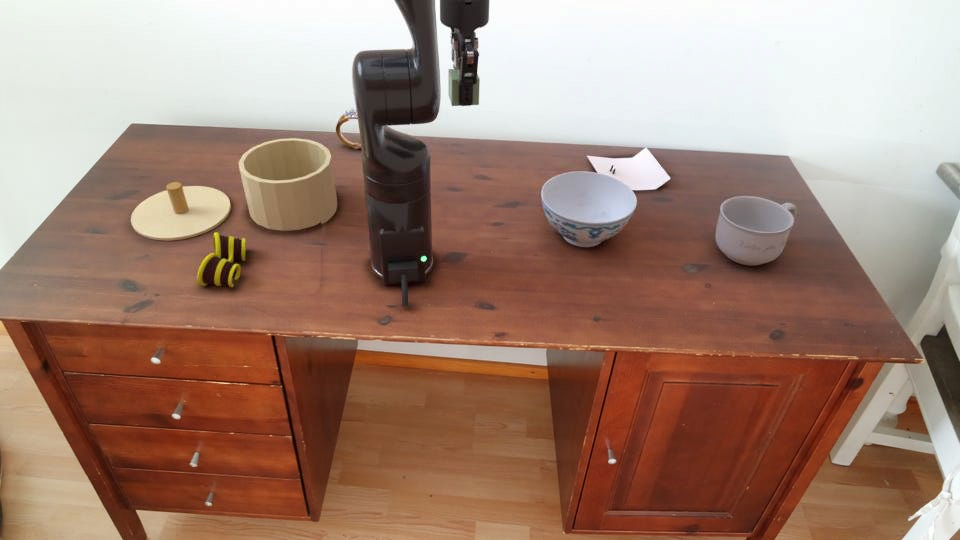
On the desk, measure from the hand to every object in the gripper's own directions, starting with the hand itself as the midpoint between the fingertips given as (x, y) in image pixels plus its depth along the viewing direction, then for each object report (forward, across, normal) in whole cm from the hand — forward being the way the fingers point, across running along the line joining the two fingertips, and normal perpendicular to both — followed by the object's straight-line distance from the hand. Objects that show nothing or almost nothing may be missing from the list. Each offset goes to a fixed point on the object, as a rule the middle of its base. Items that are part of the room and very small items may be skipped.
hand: (463, 97), depth 109 cm
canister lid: (+16, +4, -48) cm, 50 cm away
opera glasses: (+17, +20, -38) cm, 47 cm away
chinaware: (+17, +18, +18) cm, 30 cm away
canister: (+17, +4, -30) cm, 34 cm away
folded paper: (+17, 0, +31) cm, 36 cm away
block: (0, 0, 0) cm, 0 cm away
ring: (+17, -16, -19) cm, 30 cm away
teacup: (+17, +26, +44) cm, 53 cm away
